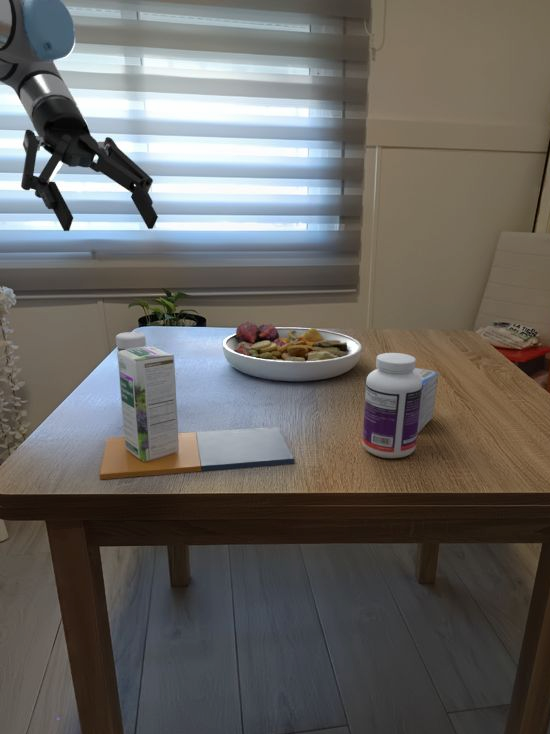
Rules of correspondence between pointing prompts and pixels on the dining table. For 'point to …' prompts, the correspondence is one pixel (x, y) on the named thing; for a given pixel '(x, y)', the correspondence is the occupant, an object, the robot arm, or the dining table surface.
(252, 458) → the sorting board
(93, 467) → the dining table surface
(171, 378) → the syrup box
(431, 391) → the medicine box
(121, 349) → the sprinkles bottle
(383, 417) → the pill bottle
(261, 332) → the bowl
